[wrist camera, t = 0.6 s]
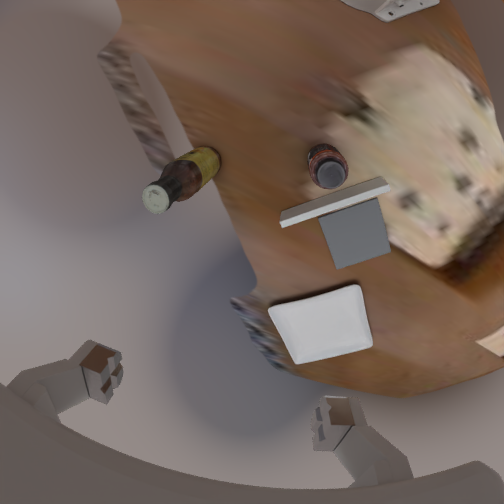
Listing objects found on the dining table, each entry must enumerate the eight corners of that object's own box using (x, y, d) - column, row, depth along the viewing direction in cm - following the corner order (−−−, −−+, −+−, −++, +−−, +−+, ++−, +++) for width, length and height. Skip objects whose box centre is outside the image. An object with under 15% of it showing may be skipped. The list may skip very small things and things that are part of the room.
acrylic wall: (381, 176, 46) (388, 184, 41) (382, 182, 46) (390, 190, 42) (281, 211, 52) (279, 222, 48) (283, 216, 53) (282, 228, 48)
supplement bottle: (300, 161, 47) (300, 176, 37) (321, 136, 44) (328, 145, 34) (325, 182, 48) (332, 203, 38) (347, 158, 45) (360, 173, 36)
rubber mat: (376, 197, 48) (377, 198, 47) (390, 250, 52) (390, 251, 52) (317, 217, 52) (318, 218, 51) (336, 267, 56) (336, 269, 56)
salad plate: (357, 274, 57) (360, 284, 54) (372, 338, 65) (374, 347, 62) (267, 299, 64) (265, 309, 61) (296, 355, 72) (295, 365, 69)
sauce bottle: (205, 138, 47) (154, 161, 30) (229, 162, 49) (190, 197, 32) (183, 162, 50) (127, 196, 33) (205, 185, 52) (159, 229, 35)
